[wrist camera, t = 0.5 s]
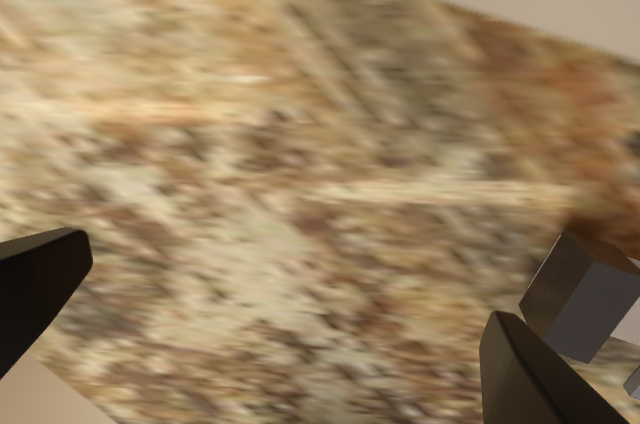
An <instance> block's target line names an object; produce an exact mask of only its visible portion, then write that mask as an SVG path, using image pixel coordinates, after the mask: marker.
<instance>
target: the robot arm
mask: <svg viewBox="0 0 640 424" xmlns="http://www.w3.org/2000/svg"><path fill="white" fill-rule="evenodd" d="M92 265H93V257H92V252H91V247H90V242H89V237H88V234H87V233H86V231H84V230H82V229H77V228H72V227H63V228H59V229H55V230H51V231H47V232H42V233H38V234H34V235H30V236H26V237H22V238H18V239H13V240H9V241H5V242H1V243H0V380H1V379H2V378H3V376H4V375H5V374H6V373H7V372H8V371H9V370H10V369H11V368H12V366H13V365H14V364H15V363H16V362H17V361H18V360H19V358H21V356H22V355H23V354H24V353H25V352H26V351H27V350H28V349H29V348H30V346H31V345H32V344H33V343H34V342H35V341H36V340H37V339H38V337H39V336H40V335H41V334H42V333H43V332H44V331H45V329H46V328H47V327H48V326H49V325H50V324H51V322H52V321H53V320H54V318H55V317H56V316H57V315H58V313H59V312H60V311H61V309H62V308H63V307H64V305H65V304H66V302H67V301H68V300H69V298H70V297H71V296H72V294H73V293H74V292H75V290H76V289H77V288H78V286H79V285H80V284H81V282H82V281H83V280H84V278H85V277H86V276H87V274H88V273H89V271H90V270H91V268H92ZM479 355H480V372H481V390H482V407H483V421H484V424H630V423H629V422H628V421H627V420H626V419H625V418H624V417H623V416H621V415H620V414H619V413H618V412H617V411H616V410H615V409H614V408H613V407H612V406H611V405H610V404H609V403H608V402H607V401H606V400H605V399H604V398H603V397H602V396H601V395H600V394H599V393H597V392H596V391H595V390H594V389H593V388H592V387H591V386H590V385H589V384H588V383H587V382H586V381H585V380H584V379H583V378H582V377H581V376H580V375H579V374H578V373H577V372H576V371H574V370H573V369H572V368H571V367H570V366H569V365H568V364H567V363H566V362H565V361H564V360H563V359H562V358H561V357H560V356H559V355H558V354H557V353H556V352H555V351H554V350H553V349H551V348H550V347H549V346H548V345H547V344H546V343H545V342H544V341H543V340H542V339H541V338H540V337H539V336H538V335H537V334H536V333H535V332H534V331H533V330H532V329H531V328H530V327H528V326H527V325H526V324H525V323H524V322H523V321H522V320H521V319H520V318H519V317H518V316H517V315H515V314H513V313H509V312H503V311H498V310H495V311H493V312H492V313H491V314H490V317H489V319H488V322H487V325H486V327H485V330H484V333H483V335H482V338H481V341H480V348H479Z"/></svg>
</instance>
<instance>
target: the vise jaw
mask: <svg viewBox="0 0 640 424" xmlns="http://www.w3.org/2000/svg"><path fill="white" fill-rule="evenodd" d="M519 307H520V309H521V311H522V314H523V316H524V318H525V320H526V323H527V325H528V327H530V328H531V329H532V330H533V331H534V332H535V333H536V334H537V335H538V336H539V337H540V338H541V339H542V340H543V341H544V342H545V343H546V344H547V345H548V346H549V347H550V348H551V349H553V350H554V351H555V352H556V353H558V354H561V355H564V356H567V357H570V358H572V359H575V360H578V361H581V362H584V363H587V364H588V363H589V362H590V361H591V359H592V358H593V357H594V355H595V354H596V353H597V352H598V350H599V349H600V348H601V346H602V345H603V344H604V342H605V341H606V340H607V339H608V337H609V336H612V337H615V338H618V339H621V340H624V341H626V342H629V343H632V344H635V345H638V346H640V269H639V268H638V267H637V266H636V265H635V264H634V263H633V262H632V261H631V260H630V259H628V258H627V257H626V256H625V255H624V254H623V253H622V252H621V251H620V250H619V249H618V248H617V247H616V246H615V245H613V244H610V243H607V242H604V241H601V240H598V239H595V238H592V237H589V236H586V235H583V234H580V233H577V232H574V231H571V230H568V229H565V230H564V232H563V233H562V235H561V236H560V238H559V240H558V241H557V243H556V245H555V246H554V248H553V250H552V251H551V253H550V254H549V256H548V258H547V259H546V261H545V263H544V264H543V266H542V267H541V269H540V271H539V272H538V274H537V276H536V277H535V279H534V280H533V282H532V284H531V285H530V287H529V289H528V290H527V292H526V293H525V295H524V297H523V298H522V300H521V302H520V303H519Z"/></svg>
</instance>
